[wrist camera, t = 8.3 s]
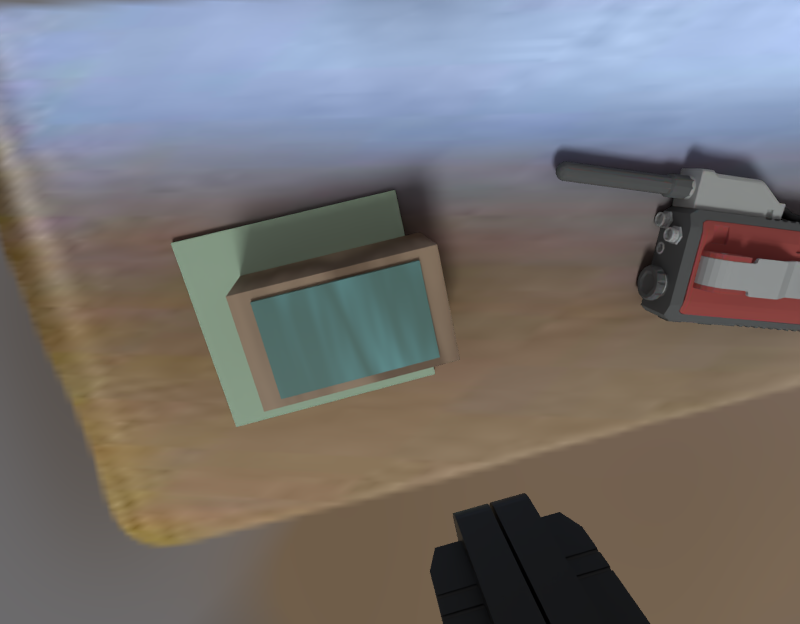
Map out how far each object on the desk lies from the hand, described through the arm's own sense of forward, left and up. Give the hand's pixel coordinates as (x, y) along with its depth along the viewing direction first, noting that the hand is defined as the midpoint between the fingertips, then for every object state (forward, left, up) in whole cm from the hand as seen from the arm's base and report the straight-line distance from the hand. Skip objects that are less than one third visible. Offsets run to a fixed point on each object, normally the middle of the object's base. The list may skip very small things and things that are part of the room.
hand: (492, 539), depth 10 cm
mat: (+4, 0, -20) cm, 21 cm away
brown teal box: (-3, 0, -18) cm, 18 cm away
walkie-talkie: (-19, +2, -21) cm, 28 cm away
